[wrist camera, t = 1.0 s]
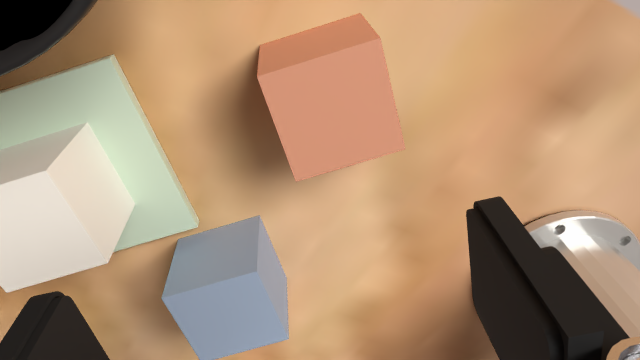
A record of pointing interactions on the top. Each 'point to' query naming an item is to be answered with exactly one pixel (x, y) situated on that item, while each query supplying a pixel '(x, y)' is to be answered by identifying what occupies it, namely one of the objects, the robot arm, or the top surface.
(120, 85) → the plate
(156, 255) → the top surface
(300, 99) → the rust brick
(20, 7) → the coal bowl
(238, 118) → the top surface
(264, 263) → the slate brick
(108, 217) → the ivory brick
